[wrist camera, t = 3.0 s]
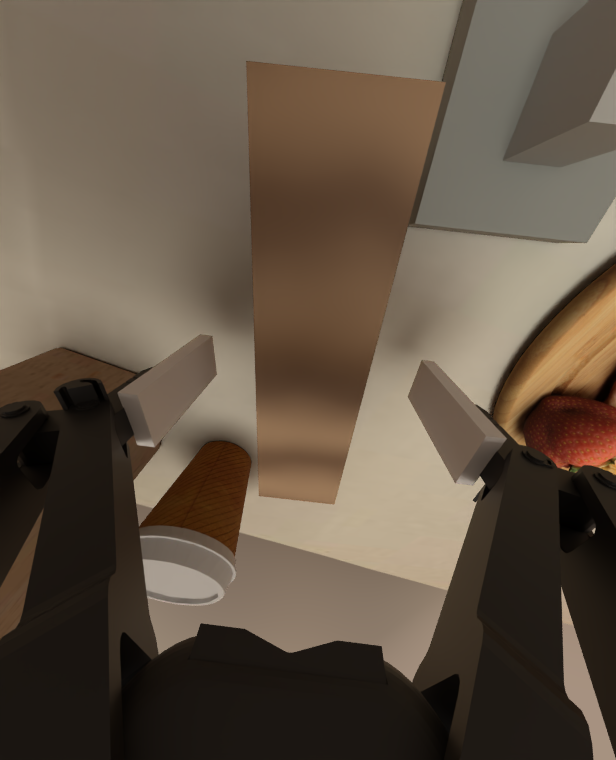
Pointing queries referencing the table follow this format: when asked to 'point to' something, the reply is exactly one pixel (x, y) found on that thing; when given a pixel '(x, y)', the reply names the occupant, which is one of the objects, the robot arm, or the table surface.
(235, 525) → the disposable coffee cup
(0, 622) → the wooden block
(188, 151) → the table surface
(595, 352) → the wooden plate with food
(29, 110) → the table surface
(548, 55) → the pedestal
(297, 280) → the walnut beam
